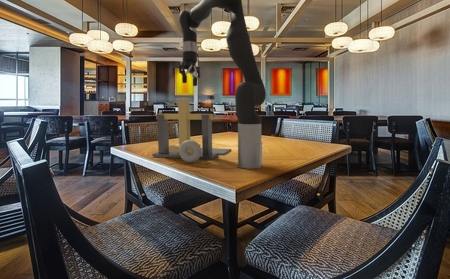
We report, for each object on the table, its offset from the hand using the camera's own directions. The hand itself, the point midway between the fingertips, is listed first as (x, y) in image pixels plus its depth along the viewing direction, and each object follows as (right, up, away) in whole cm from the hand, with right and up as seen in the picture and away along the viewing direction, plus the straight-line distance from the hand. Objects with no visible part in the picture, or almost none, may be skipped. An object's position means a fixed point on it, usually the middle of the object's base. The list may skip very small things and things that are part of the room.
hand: (190, 84), depth 132 cm
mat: (+9, -35, +6) cm, 36 cm away
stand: (-2, -36, -6) cm, 37 cm away
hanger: (-2, -33, -7) cm, 34 cm away
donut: (+3, -38, -20) cm, 43 cm away
